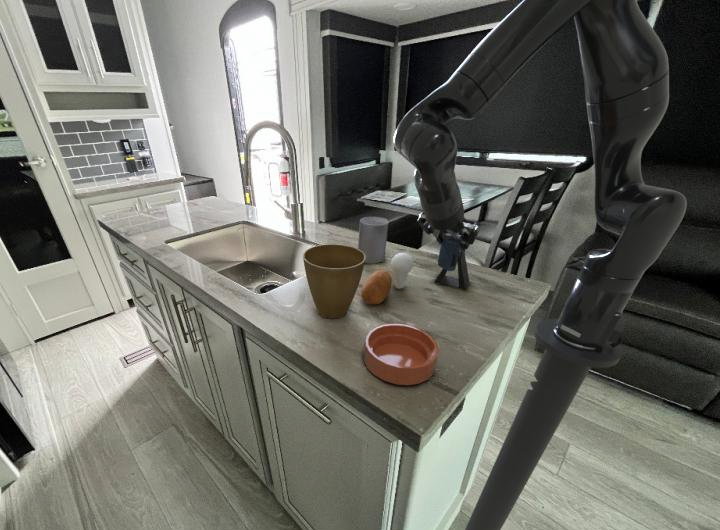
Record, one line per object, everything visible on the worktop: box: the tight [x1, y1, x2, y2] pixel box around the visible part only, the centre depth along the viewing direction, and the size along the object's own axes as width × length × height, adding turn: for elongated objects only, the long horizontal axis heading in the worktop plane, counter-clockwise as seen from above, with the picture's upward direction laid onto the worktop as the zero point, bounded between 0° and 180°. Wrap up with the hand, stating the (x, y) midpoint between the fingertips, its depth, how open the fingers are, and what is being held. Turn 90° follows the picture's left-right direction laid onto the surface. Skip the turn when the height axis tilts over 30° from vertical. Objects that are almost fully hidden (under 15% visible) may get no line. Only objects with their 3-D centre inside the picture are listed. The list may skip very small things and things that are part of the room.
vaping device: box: [437, 232, 461, 272], centre depth 78 cm, size 3×5×12 cm, turn 22°
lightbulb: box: [390, 252, 414, 290], centre depth 93 cm, size 6×6×11 cm
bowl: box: [363, 323, 440, 386], centre depth 66 cm, size 14×14×5 cm
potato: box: [360, 269, 393, 306], centre depth 89 cm, size 7×13×7 cm, turn 153°
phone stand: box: [434, 248, 470, 291], centre depth 95 cm, size 9×6×12 cm, turn 58°
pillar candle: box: [357, 216, 389, 265], centre depth 111 cm, size 10×10×15 cm
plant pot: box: [302, 243, 366, 320], centre depth 80 cm, size 15×15×16 cm
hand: (453, 244), depth 79 cm, fingers closed on vaping device, 5 cm apart
